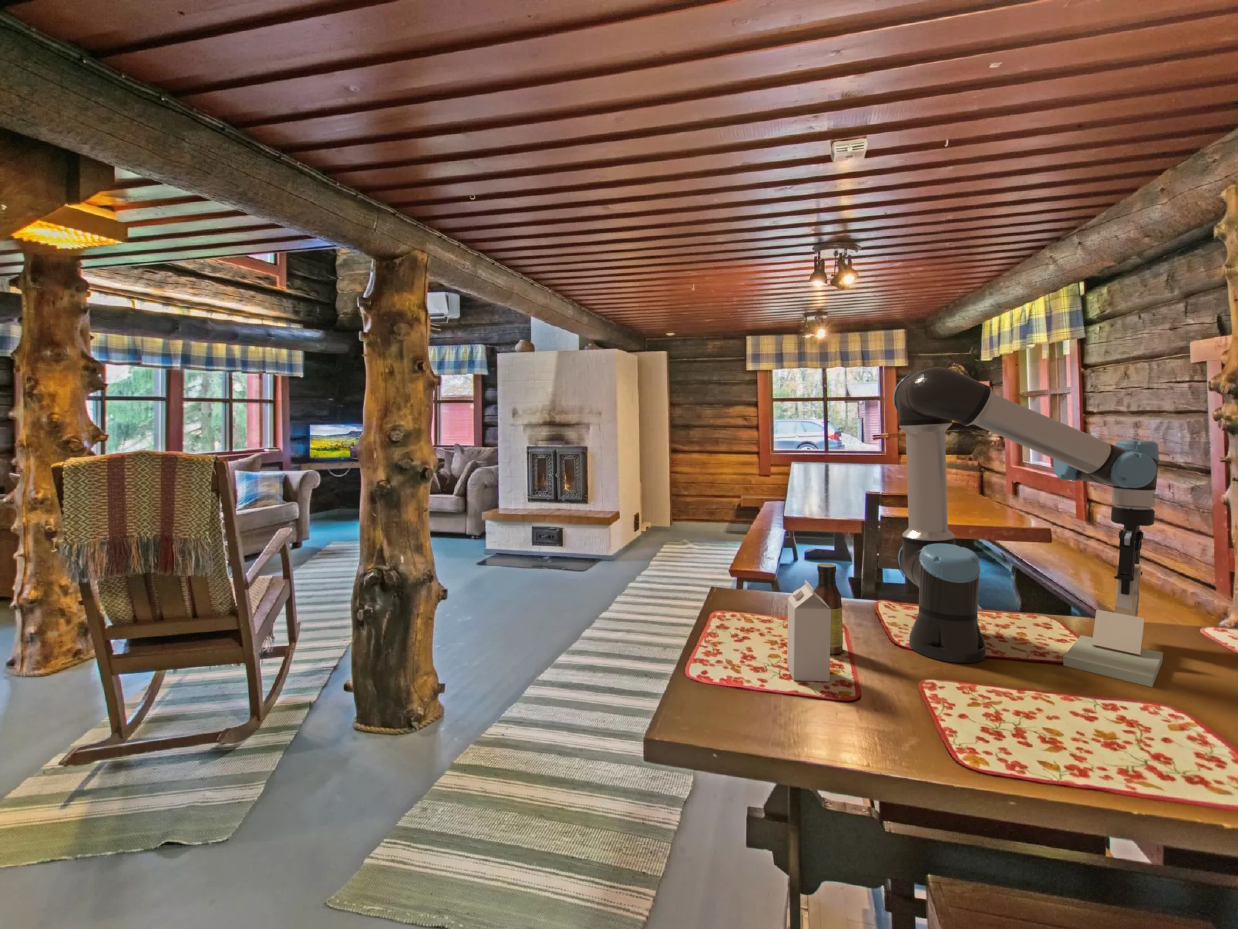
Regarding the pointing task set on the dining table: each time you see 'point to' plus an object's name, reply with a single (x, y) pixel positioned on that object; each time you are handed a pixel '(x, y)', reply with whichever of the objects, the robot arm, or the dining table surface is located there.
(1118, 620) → the tile
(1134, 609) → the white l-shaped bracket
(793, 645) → the milk carton
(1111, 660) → the grooved block
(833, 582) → the sauce bottle
